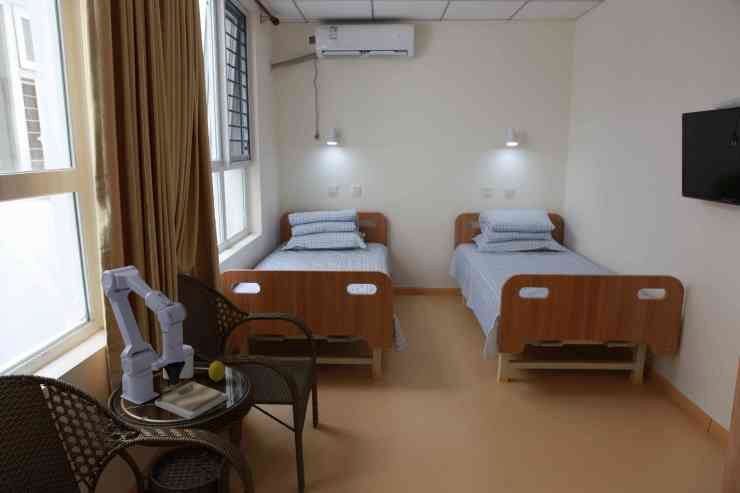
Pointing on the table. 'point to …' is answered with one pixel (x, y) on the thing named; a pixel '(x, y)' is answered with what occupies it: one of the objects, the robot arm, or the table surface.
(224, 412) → the table surface
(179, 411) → the light grey square plate
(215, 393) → the board
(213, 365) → the lemon
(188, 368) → the photo printer
